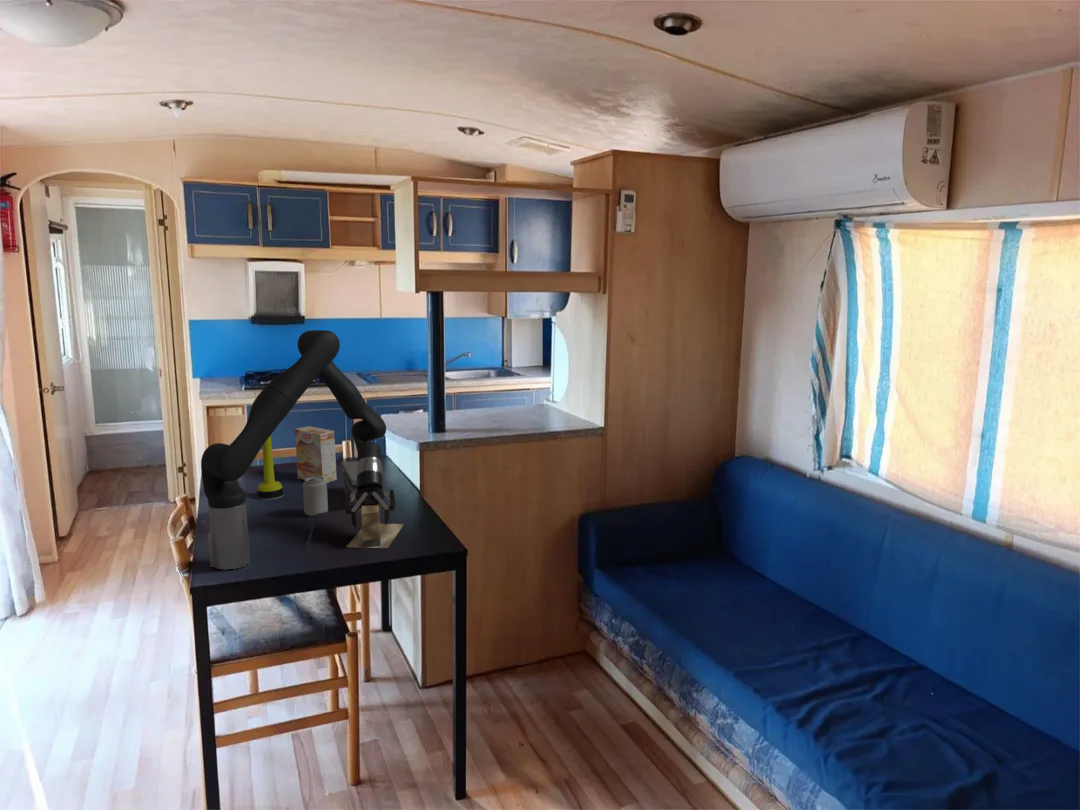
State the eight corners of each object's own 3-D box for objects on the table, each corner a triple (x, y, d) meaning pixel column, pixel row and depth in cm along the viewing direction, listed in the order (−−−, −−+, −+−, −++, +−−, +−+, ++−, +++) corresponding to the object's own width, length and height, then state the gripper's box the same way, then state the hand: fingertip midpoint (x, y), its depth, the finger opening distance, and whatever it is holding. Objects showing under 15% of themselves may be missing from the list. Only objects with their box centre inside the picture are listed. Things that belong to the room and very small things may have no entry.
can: (318, 508, 246) (316, 474, 244) (333, 512, 242) (331, 477, 240) (299, 514, 240) (297, 479, 238) (314, 518, 236) (312, 482, 234)
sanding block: (362, 547, 208) (361, 513, 206) (363, 536, 217) (361, 503, 215) (380, 545, 209) (379, 512, 207) (380, 535, 218) (379, 502, 216)
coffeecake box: (296, 478, 282) (293, 428, 279) (312, 474, 288) (309, 425, 285) (322, 484, 274) (319, 433, 270) (337, 480, 280) (334, 430, 276)
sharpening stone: (343, 491, 265) (341, 462, 263) (365, 489, 268) (363, 460, 266) (353, 512, 242) (352, 480, 241) (377, 509, 245) (376, 478, 244)
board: (346, 551, 209) (345, 547, 208) (366, 527, 228) (365, 523, 228) (387, 551, 208) (387, 547, 208) (404, 527, 228) (404, 524, 227)
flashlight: (262, 430, 249) (284, 426, 257) (246, 427, 254) (268, 423, 262) (267, 501, 254) (289, 495, 261) (251, 497, 259) (273, 490, 266)
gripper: (344, 470, 215) (344, 520, 206) (393, 468, 218) (395, 517, 209) (346, 483, 221) (346, 532, 212) (394, 480, 224) (396, 528, 215)
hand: (370, 524), depth 211 cm, fingers open, 8 cm apart
